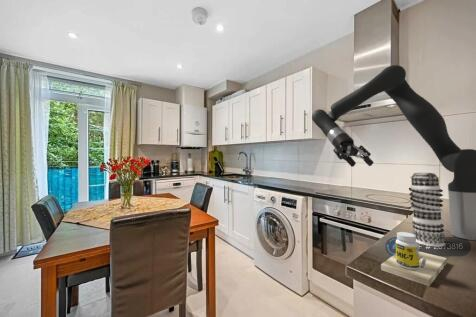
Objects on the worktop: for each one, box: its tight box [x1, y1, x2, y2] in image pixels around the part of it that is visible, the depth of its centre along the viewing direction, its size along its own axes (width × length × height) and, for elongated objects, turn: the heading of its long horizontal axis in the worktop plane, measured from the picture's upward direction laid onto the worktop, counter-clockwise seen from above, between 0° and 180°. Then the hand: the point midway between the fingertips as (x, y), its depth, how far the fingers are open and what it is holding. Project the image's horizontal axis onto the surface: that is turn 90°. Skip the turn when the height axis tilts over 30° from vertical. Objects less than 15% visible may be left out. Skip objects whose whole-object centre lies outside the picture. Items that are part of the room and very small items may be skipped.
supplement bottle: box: [395, 231, 420, 270], centre depth 56 cm, size 5×5×8 cm
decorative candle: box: [408, 172, 446, 248], centre depth 76 cm, size 9×9×25 cm
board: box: [380, 251, 448, 287], centre depth 59 cm, size 18×10×2 cm, turn 126°
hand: (363, 164), depth 81 cm, fingers open, 8 cm apart
